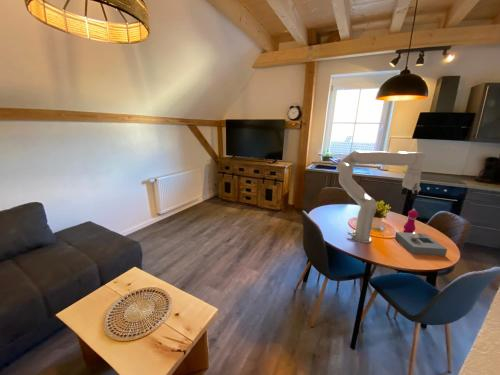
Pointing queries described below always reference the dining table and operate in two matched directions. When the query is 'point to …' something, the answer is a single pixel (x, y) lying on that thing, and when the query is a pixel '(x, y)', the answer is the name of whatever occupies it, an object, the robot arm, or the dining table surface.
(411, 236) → the ball
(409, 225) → the pepper mill
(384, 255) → the dining table surface
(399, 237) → the board
